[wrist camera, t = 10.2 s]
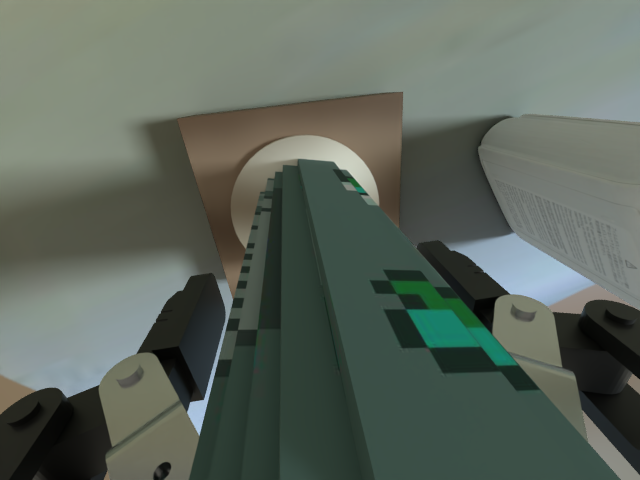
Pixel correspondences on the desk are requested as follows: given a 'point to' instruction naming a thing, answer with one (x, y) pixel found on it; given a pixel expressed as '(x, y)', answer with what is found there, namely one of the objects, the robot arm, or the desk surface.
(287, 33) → the desk surface
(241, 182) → the base
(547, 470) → the can
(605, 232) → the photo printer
